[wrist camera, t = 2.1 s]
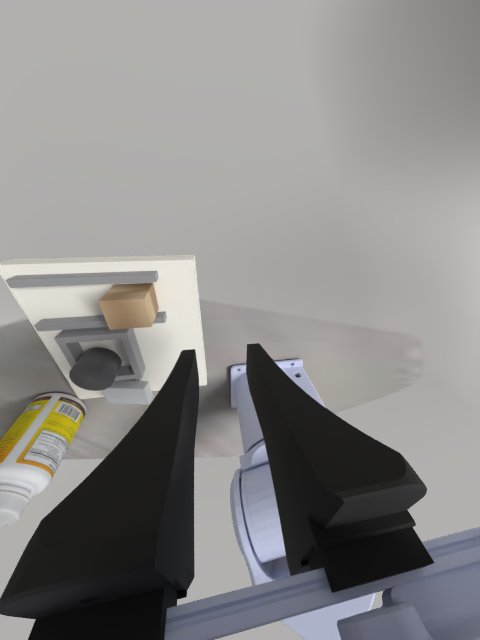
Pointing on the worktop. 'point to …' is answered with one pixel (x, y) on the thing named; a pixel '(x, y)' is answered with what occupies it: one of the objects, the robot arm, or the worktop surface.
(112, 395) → the grey rocker switch
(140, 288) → the tan block
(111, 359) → the black push button
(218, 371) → the worktop surface
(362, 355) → the worktop surface
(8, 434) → the supplement bottle
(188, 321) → the switch board
